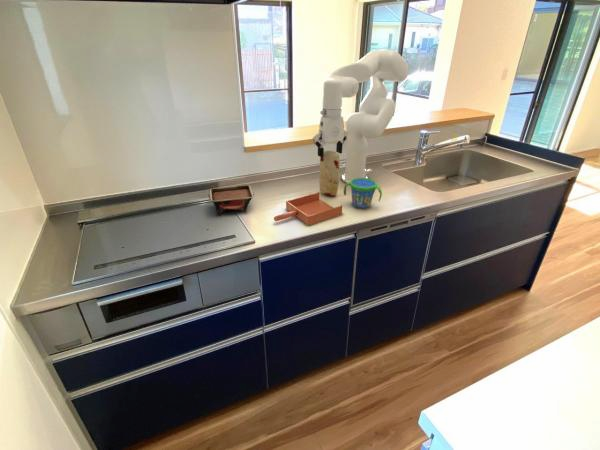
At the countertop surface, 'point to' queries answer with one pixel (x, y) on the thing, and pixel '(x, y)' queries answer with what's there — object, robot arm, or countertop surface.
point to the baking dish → (231, 197)
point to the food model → (329, 173)
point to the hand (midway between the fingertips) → (329, 154)
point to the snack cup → (362, 191)
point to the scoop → (309, 209)
